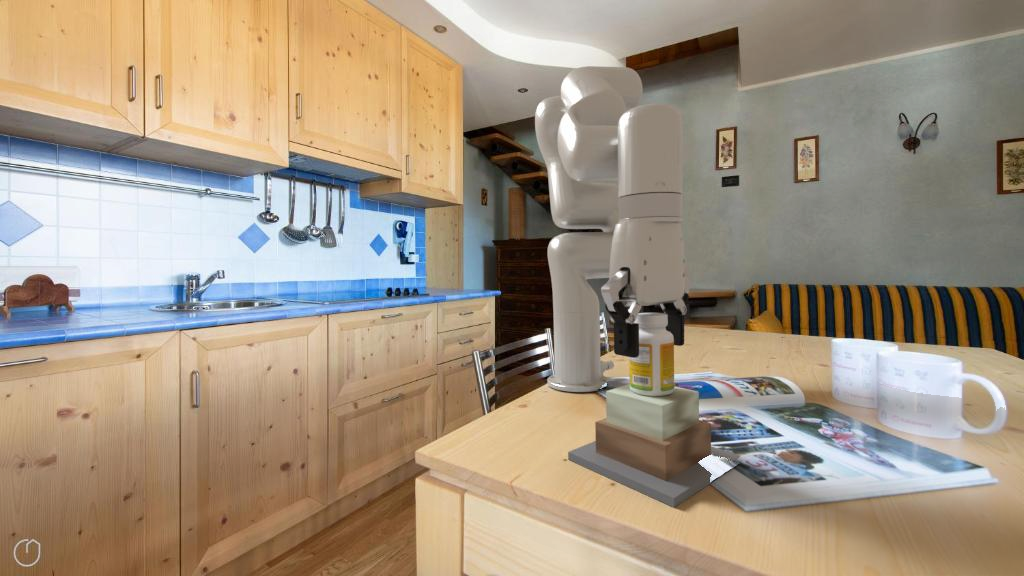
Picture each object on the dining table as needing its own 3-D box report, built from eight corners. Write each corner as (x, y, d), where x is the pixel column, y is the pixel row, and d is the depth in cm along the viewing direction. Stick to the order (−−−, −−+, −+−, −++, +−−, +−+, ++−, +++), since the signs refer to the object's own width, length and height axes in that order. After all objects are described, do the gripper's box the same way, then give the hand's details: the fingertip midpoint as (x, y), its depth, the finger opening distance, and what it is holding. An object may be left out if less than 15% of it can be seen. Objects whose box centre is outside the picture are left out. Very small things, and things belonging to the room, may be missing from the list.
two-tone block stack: (642, 432, 63) (641, 377, 62) (711, 455, 55) (710, 391, 54) (595, 452, 56) (594, 391, 56) (665, 481, 49) (665, 409, 48)
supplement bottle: (668, 385, 58) (667, 311, 57) (679, 397, 52) (678, 316, 52) (626, 385, 58) (625, 312, 58) (633, 397, 53) (632, 316, 52)
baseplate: (638, 430, 66) (638, 423, 66) (740, 463, 54) (740, 455, 54) (568, 459, 57) (568, 451, 57) (673, 507, 45) (673, 498, 45)
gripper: (662, 217, 62) (662, 337, 63) (578, 212, 52) (581, 355, 53) (714, 212, 57) (713, 344, 58) (632, 204, 46) (633, 366, 47)
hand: (650, 349), depth 55 cm, fingers open, 9 cm apart
